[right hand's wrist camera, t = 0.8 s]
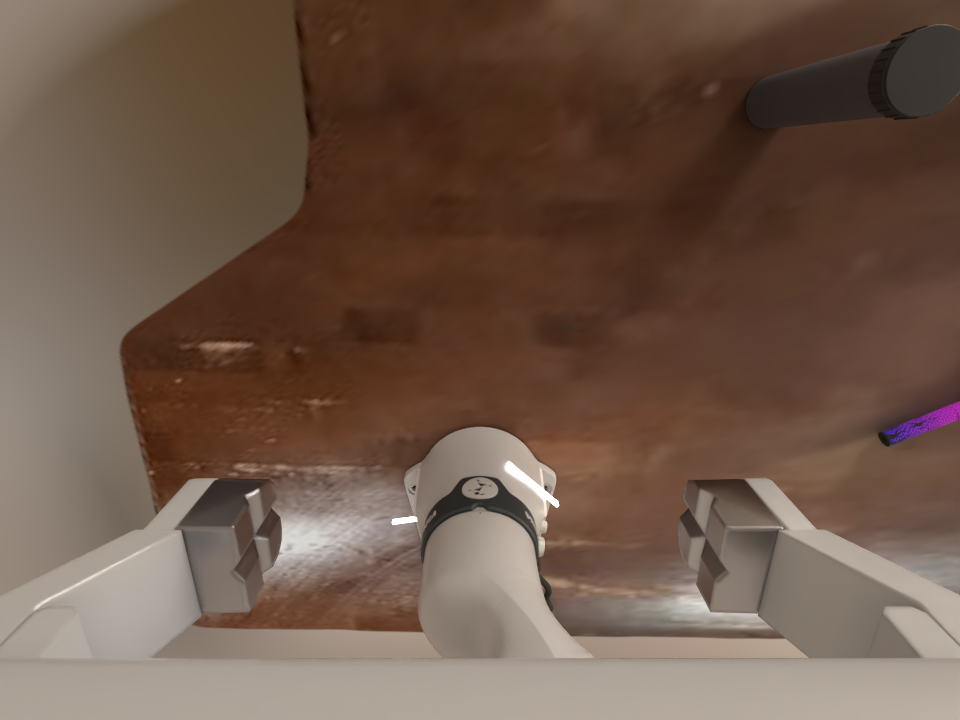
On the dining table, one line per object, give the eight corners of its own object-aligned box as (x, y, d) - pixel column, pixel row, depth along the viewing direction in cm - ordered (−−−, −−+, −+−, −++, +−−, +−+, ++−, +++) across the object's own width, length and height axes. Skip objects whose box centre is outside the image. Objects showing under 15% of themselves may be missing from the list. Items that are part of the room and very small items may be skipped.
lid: (921, 9, 33) (944, 1, 32) (965, 72, 35) (989, 68, 33) (850, 79, 35) (868, 75, 33) (894, 137, 36) (914, 136, 34)
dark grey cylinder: (774, 63, 50) (936, 11, 32) (804, 100, 51) (976, 69, 34) (735, 104, 51) (870, 76, 34) (765, 139, 53) (910, 130, 35)
